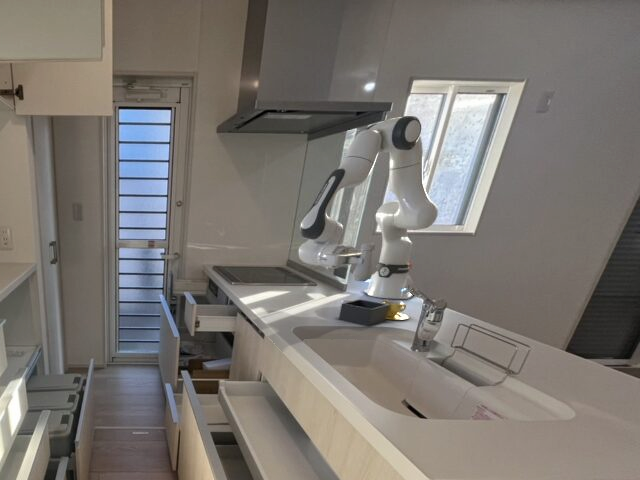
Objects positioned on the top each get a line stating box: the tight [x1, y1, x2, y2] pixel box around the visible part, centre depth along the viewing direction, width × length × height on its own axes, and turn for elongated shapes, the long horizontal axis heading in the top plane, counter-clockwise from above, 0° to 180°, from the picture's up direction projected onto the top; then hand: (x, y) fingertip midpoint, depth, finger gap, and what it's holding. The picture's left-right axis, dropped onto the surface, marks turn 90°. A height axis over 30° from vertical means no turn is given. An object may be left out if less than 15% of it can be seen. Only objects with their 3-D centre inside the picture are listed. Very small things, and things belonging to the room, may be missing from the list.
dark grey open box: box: [338, 298, 389, 327], centre depth 148 cm, size 11×11×6 cm
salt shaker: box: [352, 242, 376, 282], centre depth 147 cm, size 6×6×13 cm
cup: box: [381, 299, 410, 321], centre depth 151 cm, size 12×12×5 cm
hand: (367, 261), depth 146 cm, fingers closed on salt shaker, 3 cm apart
